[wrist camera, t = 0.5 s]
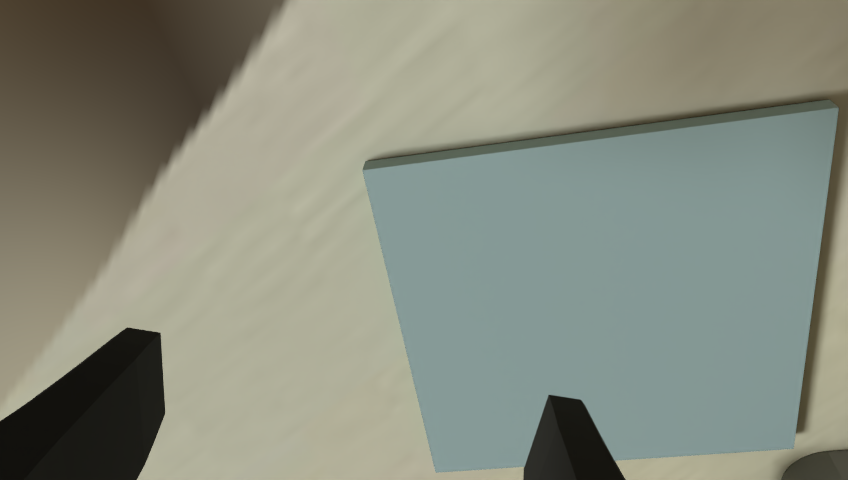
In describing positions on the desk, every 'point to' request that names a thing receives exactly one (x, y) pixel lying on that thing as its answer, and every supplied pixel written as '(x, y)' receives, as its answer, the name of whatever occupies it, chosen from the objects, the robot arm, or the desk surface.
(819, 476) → the plug
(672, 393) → the mat
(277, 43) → the desk surface
